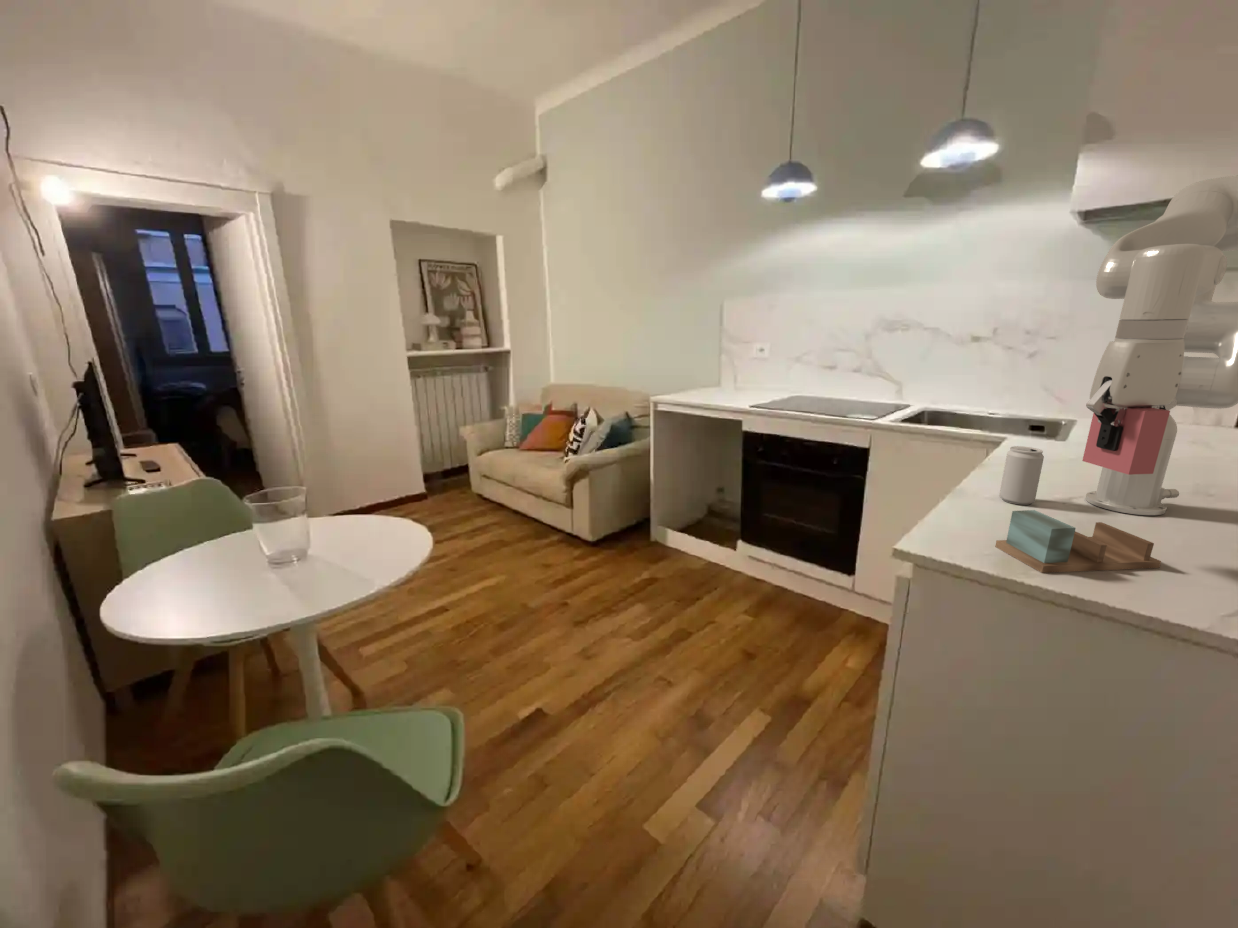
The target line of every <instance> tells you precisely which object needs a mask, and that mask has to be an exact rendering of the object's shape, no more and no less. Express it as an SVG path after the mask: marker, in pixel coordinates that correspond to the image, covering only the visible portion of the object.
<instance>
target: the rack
mask: <svg viewBox="0 0 1238 928" xmlns="http://www.w3.org/2000/svg"><path fill="white" fill-rule="evenodd" d="M1076 529H1077V528H1076V527H1075V526H1072V525H1070V524H1067V523H1065V522H1063V521H1061V520H1059V519H1055V518H1054V517H1051V516H1050V515H1047V514H1044V513H1042V512H1040V511H1037V510H1035V509H1030V510H1029V509H1028V510H1012V512H1011V518H1010V523H1009V525H1008V533H1007V537H1006V539H1004V540H1003V539H1001V540H1000V539H999V540H996V541H995V548H997V549H999V550H1000V551H1002V552H1004V553H1006V554H1008V556H1009V555H1010V556H1011V557H1013V558H1014V559H1017V560H1018V561H1020V562H1022V563H1023V564H1025V565H1027V566H1029V567H1030V568H1033V569H1034V570H1036V571H1038V572H1039V573H1041V574H1045V573H1046V574H1047V573H1048V574H1049V573H1069V572H1070V573H1071V572H1073V573H1074V572H1091V571H1092V572H1093V571H1095V572H1097V571H1117V570H1119V571H1120V570H1140V569H1141V570H1142V569H1159V568H1160V566H1161V563H1162V561H1161V560H1160V559H1157V558H1154V557H1152V552H1153V548H1154V545H1155V542H1153V541H1150V540H1147V539H1145V538H1142V537H1139V536H1137V535H1134V534H1132V533H1129V532H1127V531H1124V530H1122V529H1119V528H1117V527H1114V526H1112V525H1109V524H1107V523H1104V522H1102V521H1098V522H1095V525H1094V528H1093V529H1094V530H1093V533H1092V536H1087V535H1084V534H1083V533H1081V532H1078V531H1076Z"/></svg>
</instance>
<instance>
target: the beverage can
mask: <svg viewBox="0 0 1238 928" xmlns="http://www.w3.org/2000/svg"><path fill="white" fill-rule="evenodd" d="M1043 452H1044V450H1042V449H1040V448H1036V447H1032V446H1021V445H1020V446H1019V445H1017V446H1015V445H1014V446H1011V447H1009V450H1008V451H1007V453H1006V458H1005V461H1004V467H1003V468H1004V469H1003V472H1002V479H1001V485H1000V490H999V493H998V496H999V497H1000V499H1001V500H1002V501H1003V502H1006V503H1010V504H1013V505H1018V506H1019V505H1021V506H1026V505H1027V506H1028V505H1030V504H1032V503H1034V502H1036V496H1037V492H1038V487H1039V483H1040V478H1041V473H1042V470H1043V469H1042V467H1043V464H1044V459H1045V457H1044V456H1045V455H1044V454H1043Z"/></svg>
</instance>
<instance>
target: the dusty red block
mask: <svg viewBox="0 0 1238 928" xmlns="http://www.w3.org/2000/svg"><path fill="white" fill-rule="evenodd" d="M1104 404H1105V403H1104ZM1115 411H1116V409H1112V413H1113V414H1114V413H1115ZM1092 413H1093V414H1092V418H1091V421H1090V422H1091V423H1090V427H1089V431H1088V434H1087V438H1086V439H1087V440H1086V443H1085V449H1084V450H1083V451H1084V452H1083V457H1082V462H1085V463H1088V464H1091V465H1095V466H1098V467H1101V468H1102V467H1104V468H1108V469H1111V470H1115V471H1118V472H1121V473H1125V474H1128V475H1133V474H1153V472H1154V468H1155V465H1156V461H1157V457H1158V454H1159V450H1160V447H1161V443H1162V439H1163V436H1164V432H1165V428H1166V425H1167V421H1168V417H1169V414H1170V415H1171V410H1163V409H1157V408H1151V407H1128V408H1127V411H1126V413H1125V415H1124V417H1123V420H1122V422H1121V424H1120V425H1119V426H1122V427H1123V431H1122V435H1121V439H1120V443H1119V447H1118V450H1117V451H1111V450H1107V449H1103V448H1099V447H1097V446H1096V443H1097V439H1098V435H1099V431H1100V426H1101V423H1099V422H1098V418H1097V416H1096V415H1095V414H1094V412H1092Z"/></svg>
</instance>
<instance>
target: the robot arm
mask: <svg viewBox="0 0 1238 928" xmlns="http://www.w3.org/2000/svg"><path fill="white" fill-rule="evenodd" d="M1230 251H1231V252H1232V251H1238V174H1237V175H1230V176H1228V175H1227V176H1222V177H1221V176H1220V177H1214V178H1210V179H1208V178H1207V179H1205V180H1200V181H1196V182H1194V183H1191V184H1188V185H1187V186H1185V187H1183V188H1182V189H1180V190H1179V191H1177V193H1176V194H1175V195H1174V196H1173V197H1172V198H1171V200H1170V201H1169V203H1168V205H1167V207H1166V208H1165V211H1164V212H1163V214H1162V215H1160V216H1159V217H1157V219H1155V220H1154V221H1153V222H1151V223H1149V224H1146V225H1144V226H1141V227H1139V228H1136V229H1135V230H1132V231H1130V232H1128V233H1126V234H1124V235H1123V236H1121V237H1120V238H1119V239H1117V240H1116V241H1115V242H1114V243H1113V245H1111V248H1110V249H1109V251H1108V252H1107V254H1106V256H1105V257H1104V259H1103V260H1102V262H1101V264H1100V266H1099V269H1098V272H1097V275H1096V281H1095V282H1096V284H1095V285H1096V291H1097V293H1098V294H1099V295H1100V296H1101V297H1103V298H1106V299H1111V300H1123V303H1122V307H1121V312H1120V316H1119V321H1118V325H1117V327H1116V333H1115V337H1114V341H1109V342H1108V344H1107V346H1106V347H1105V349H1104V352H1103V354H1102V356H1101V358H1100V361H1099V364H1098V367H1097V369H1096V371H1095V374H1094V375H1095V376H1094V378H1093V382H1092V385H1091V388H1090V392H1089V401H1088V402H1087V403H1086V405H1085V407H1086V408H1087V409H1089V411H1091V412H1092V413H1094V414H1095V415H1096V416H1097V418H1098V422H1099V423H1101V426H1100V431H1099V435H1098V439H1097V443H1096V446H1097V447H1099V448H1103V449H1107V450H1111V451H1117V450H1118V447H1119V443H1120V439H1121V435H1122V431H1123V427H1122V426H1119V425H1120V424H1121V422H1122V420H1123V417H1124V415H1125V413H1126V411H1127V408H1128V407H1151V408H1157V409H1163V410H1169V411H1171V410H1172V409H1174V408H1175V407H1189V408H1191V407H1192V408H1202V409H1219V410H1221V409H1229V408H1232V407H1235V406H1236V405H1238V301H1217V302H1216V301H1213V297H1214V292H1215V290H1216V287H1217V286H1218V285H1219V284H1221V282H1222V281H1223V279H1224V277H1225V274H1226V271H1227V267H1228V258H1227V256H1226V255H1225V254H1224V252H1230ZM1185 353H1200V354H1203V353H1204V354H1214V355H1216V356H1217V357H1211V356H1209V357H1206V356H1205V357H1204V356H1203V357H1202V356H1186V355H1185ZM1104 403H1105V404H1104ZM1112 409H1116V411H1115V413H1114V414H1113V413H1112ZM1177 434H1178V425H1177V423H1176V420H1175V419H1174V417H1172V415H1171V413H1170V414H1169V417H1168V421H1167V425H1166V428H1165V432H1164V436H1163V439H1162V443H1161V447H1160V450H1159V454H1158V457H1157V461H1156V465H1155V468H1154V472H1153V474H1133V475H1128V474H1125V473H1121V472H1118V471H1115V470H1111V469H1108V468H1104V467H1101V472H1100V476H1099V481H1098V483H1097V487H1096V491H1089V492H1087V493H1086V494H1085V498H1084V499H1085V500H1086V502H1088V503H1089V504H1091V505H1093V506H1096V507H1099V508H1103V509H1105V510H1108V511H1113V512H1117V513H1122V514H1130V515H1135V516H1136V515H1137V516H1161V515H1164V514H1166V511H1167V506H1166V505H1165V503H1162V500H1164V499H1175V498H1178V497H1180V496H1179V495H1180V493H1179V490H1178V489H1176V488H1164V487H1162V486H1163V483H1164V481H1165V476H1166V473H1167V469H1168V466H1169V462H1170V459H1171V455H1172V451H1173V448H1174V445H1175V441H1176V437H1177Z"/></svg>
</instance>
